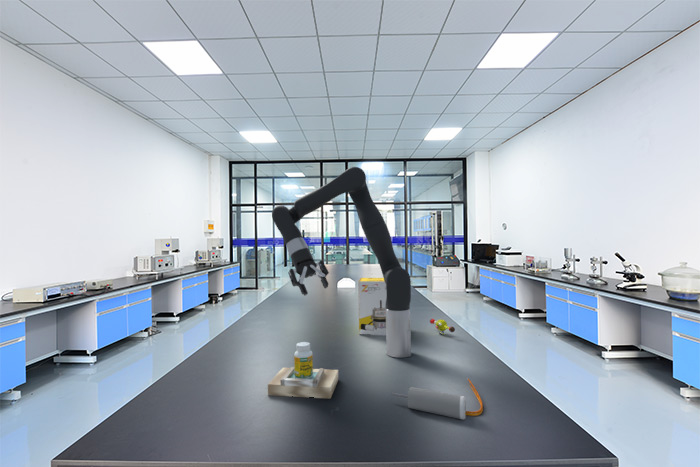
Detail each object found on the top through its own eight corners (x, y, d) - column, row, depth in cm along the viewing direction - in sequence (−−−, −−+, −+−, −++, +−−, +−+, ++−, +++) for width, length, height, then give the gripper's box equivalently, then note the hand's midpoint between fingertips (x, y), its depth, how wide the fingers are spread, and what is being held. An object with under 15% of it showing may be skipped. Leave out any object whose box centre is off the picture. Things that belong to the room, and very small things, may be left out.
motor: (481, 427, 70) (481, 403, 71) (388, 406, 79) (388, 385, 80) (484, 398, 90) (484, 380, 91) (410, 384, 100) (410, 368, 101)
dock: (338, 379, 95) (338, 365, 96) (330, 399, 83) (330, 382, 84) (283, 377, 98) (282, 362, 98) (267, 395, 86) (267, 379, 86)
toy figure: (425, 329, 150) (425, 315, 151) (435, 328, 152) (435, 315, 152) (448, 340, 133) (447, 324, 133) (458, 339, 135) (458, 323, 135)
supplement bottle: (308, 371, 94) (307, 340, 94) (316, 377, 89) (315, 344, 90) (291, 376, 91) (291, 343, 91) (298, 382, 86) (298, 348, 87)
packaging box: (392, 326, 158) (391, 277, 159) (394, 335, 142) (393, 281, 143) (361, 326, 160) (360, 277, 161) (359, 335, 143) (358, 281, 144)
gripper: (284, 252, 108) (302, 293, 103) (318, 243, 117) (336, 281, 111) (279, 261, 114) (295, 300, 109) (312, 252, 122) (329, 289, 117)
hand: (316, 291), depth 110 cm, fingers open, 8 cm apart
